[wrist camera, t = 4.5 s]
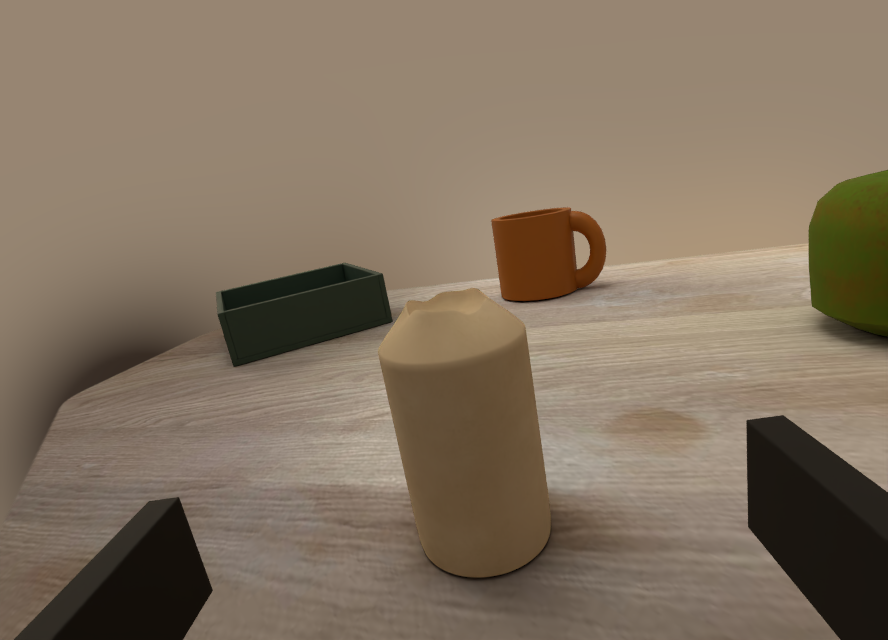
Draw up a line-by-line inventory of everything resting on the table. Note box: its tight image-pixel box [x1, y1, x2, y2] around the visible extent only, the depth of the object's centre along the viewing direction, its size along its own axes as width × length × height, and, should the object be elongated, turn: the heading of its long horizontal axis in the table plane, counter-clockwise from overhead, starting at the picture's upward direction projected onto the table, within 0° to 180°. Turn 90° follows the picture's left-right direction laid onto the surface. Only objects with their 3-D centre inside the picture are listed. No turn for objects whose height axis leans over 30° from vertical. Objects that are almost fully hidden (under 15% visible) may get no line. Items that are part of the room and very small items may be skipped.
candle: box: [378, 288, 551, 577], centre depth 19 cm, size 6×6×10 cm
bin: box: [216, 263, 393, 366], centre depth 60 cm, size 17×17×6 cm
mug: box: [492, 208, 606, 301], centre depth 56 cm, size 9×12×9 cm
